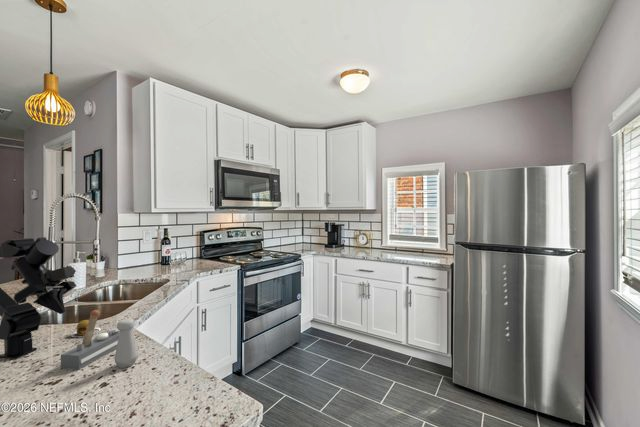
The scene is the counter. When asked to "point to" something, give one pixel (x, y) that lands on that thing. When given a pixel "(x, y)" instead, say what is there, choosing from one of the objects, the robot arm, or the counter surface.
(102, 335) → the white button
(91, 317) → the ash lever
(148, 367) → the counter surface
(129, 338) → the salt shaker
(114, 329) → the block
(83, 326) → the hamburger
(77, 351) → the console
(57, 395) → the counter surface
